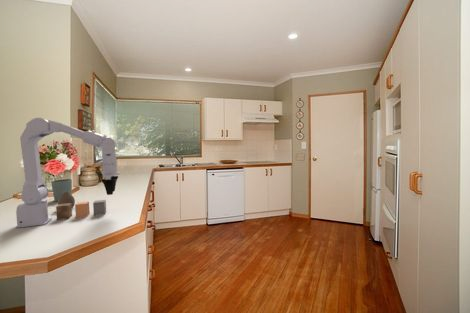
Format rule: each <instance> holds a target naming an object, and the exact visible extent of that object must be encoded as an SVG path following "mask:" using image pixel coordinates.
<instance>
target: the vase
mask: <svg viewBox="0 0 470 313" xmlns="http://www.w3.org/2000/svg"><path fill="white" fill-rule="evenodd" d="M66 203H71V205H72V209H73V208H74V207H75V204H76V200H75V197H74V196H73V194H72V195H71V194H70V193H69V192H63V194H62V196H61V197H60V198H59V200H58V201H57V206H58V205H59V204H66Z"/></svg>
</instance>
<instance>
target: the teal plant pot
mask: <svg viewBox="0 0 470 313" xmlns="http://www.w3.org/2000/svg"><path fill="white" fill-rule="evenodd" d="M50 182H51V188H52V194H53V201H54V202H58V200H59V198H60V197H61V196H62V194H63V192H69V193H70V194H71V195H72V196H73V194H72V193H73V179H72V178H66V179H56V180H55V179H53V180H51V181H50Z"/></svg>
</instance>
